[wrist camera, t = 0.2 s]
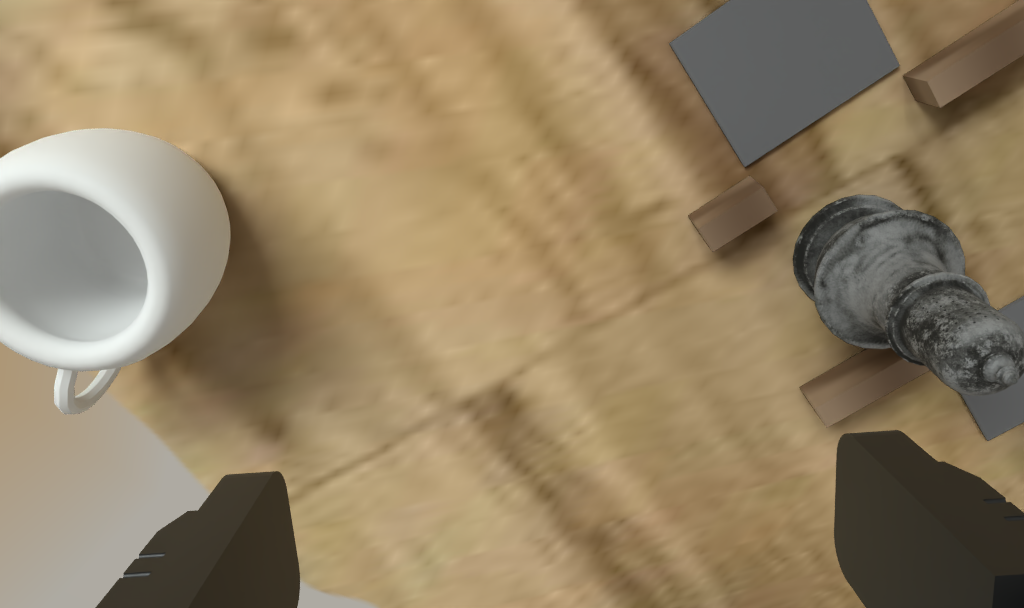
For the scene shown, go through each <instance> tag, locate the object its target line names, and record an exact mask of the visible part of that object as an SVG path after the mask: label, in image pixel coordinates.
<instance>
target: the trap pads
mask: <svg viewBox="0 0 1024 608" xmlns="http://www.w3.org/2000/svg"><path fill="white" fill-rule="evenodd" d="M669 44H670V46H671V47H672V49H673V51H674V52H675V54H676V56H677V57H678V59H679V61H680V62H681V64H682V66H683V67H684V69H685V70H686V72H687V74H688V75H689V77H690V79H691V80H692V82H693V84H694V85H695V87H696V89H697V90H698V92H699V94H700V95H701V97H702V98H703V100H704V102H705V103H706V105H707V107H708V108H709V110H710V112H711V113H712V115H713V117H714V118H715V120H716V122H717V123H718V125H719V126H720V128H721V130H722V131H723V133H724V135H725V136H726V138H727V140H728V141H729V143H730V145H731V146H732V148H733V149H734V151H735V153H736V154H737V156H738V158H739V159H740V161H741V163H742V164H743V166H744V167H746V166H747V165H749V164H750V163H752V162H753V161H755V160H756V159H758V158H760V157H761V156H763V155H764V154H766V153H767V152H769V151H770V150H772V149H773V148H775V147H776V146H778V145H779V144H781V143H782V142H784V141H785V140H787V139H789V138H790V137H792V136H793V135H795V134H796V133H798V132H799V131H801V130H802V129H804V128H805V127H807V126H808V125H810V124H811V123H813V122H815V121H816V120H818V119H819V118H821V117H822V116H824V115H825V114H827V113H828V112H830V111H831V110H833V109H834V108H836V107H837V106H839V105H840V104H842V103H844V102H845V101H847V100H848V99H850V98H851V97H853V96H854V95H856V94H857V93H859V92H860V91H862V90H863V89H865V88H866V87H868V86H869V85H871V84H873V83H874V82H876V81H877V80H879V79H880V78H882V77H883V76H885V75H886V74H888V73H889V72H891V71H892V70H894V69H895V68H897V67H898V66H900V65H899V63H898V61H897V59H896V57H895V55H894V53H893V51H892V49H891V47H890V45H889V43H888V41H887V39H886V37H885V35H884V33H883V31H882V29H881V27H880V25H879V24H878V22H877V20H876V18H875V16H874V14H873V12H872V10H871V8H870V6H869V4H868V2H867V0H730V1H728V2H727V3H725V4H724V5H723V6H721V7H720V8H718V9H717V10H715V11H714V12H713V13H711V14H710V15H708V16H707V17H706V18H704V19H703V20H701V21H700V22H699V23H697V24H696V25H694V26H693V27H692V28H690V29H689V30H687V31H686V32H685V33H683V34H682V35H680V36H679V37H677V38H676V39H675V40H673V41H672V42H670V43H669ZM998 311H999V312H1000V313H1002V314H1003V315H1005V316H1006V317H1008V318H1009V319H1010V320H1012V321H1013V322H1015V323H1016V324H1018V326H1019V327H1020V328H1021V330H1022V331H1023V332H1024V296H1023V297H1021V298H1019V299H1018V300H1016V301H1014V302H1012V303H1011V304H1009V305H1007V306H1005V307H1003V308H1002V309H1000V310H998ZM959 393H960V392H959ZM960 394H961V396H962V398H963V400H964V401H965V403H966V405H967V407H968V408H969V410H970V412H971V414H972V416H973V417H974V419H975V421H976V423H977V424H978V426H979V428H980V430H981V431H982V433H983V435H984V437H985V439H986V440H987V441H989V440H991V439H993V438H995V437H996V436H998V435H1000V434H1002V433H1004V432H1006V431H1008V430H1010V429H1012V428H1014V427H1015V426H1017V425H1019V424H1021V423H1023V422H1024V373H1023V374H1022V376H1021V377H1020V378H1019V379H1018V381H1017V383H1016V384H1013V385H1011V386H1010V387H1008V388H1007V389H1005V390H1003V391H1000V392H998V393H995V394H989V395H984V396H970V395H966V394H963V393H960Z"/></svg>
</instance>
